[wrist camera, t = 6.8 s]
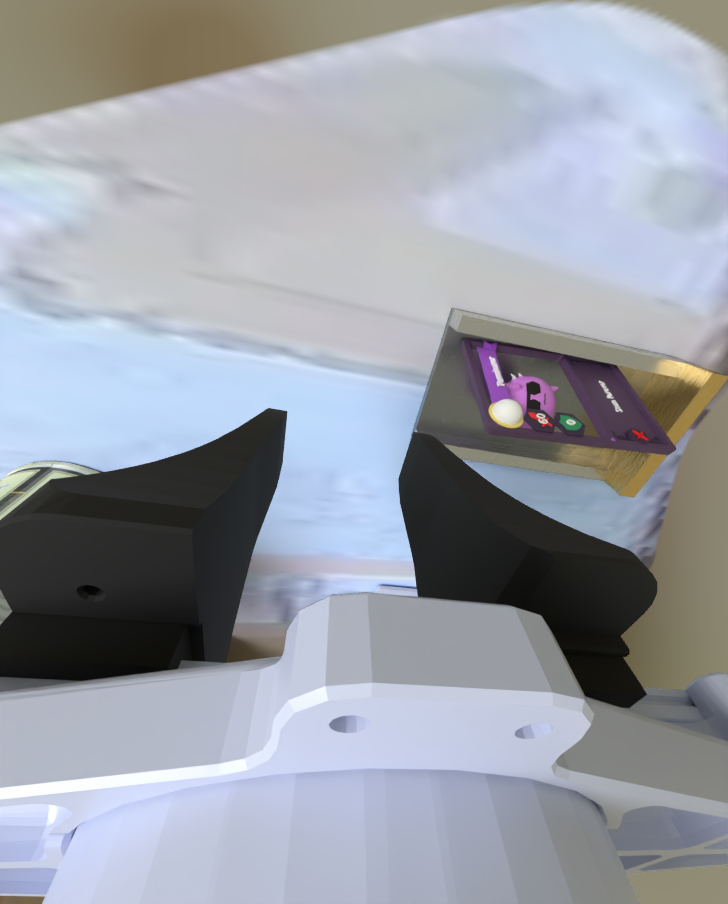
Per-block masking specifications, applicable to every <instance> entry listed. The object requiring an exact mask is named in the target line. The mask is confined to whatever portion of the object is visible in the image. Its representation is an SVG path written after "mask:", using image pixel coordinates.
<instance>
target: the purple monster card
mask: <svg viewBox="0 0 728 904" xmlns="http://www.w3.org/2000/svg"><path fill="white" fill-rule="evenodd" d="M461 348H462V351H463V355H464V358H465V362H466V365H467V369H468V373H469V376H470V380H471V383H472V387H473V390H474V394H475V397H476V401H477V404H478V408H479V411H480V415H481V418H482V422H483V425H484V429H485V431H486V432H487V433H488V434H490V435H496V436H505V437H513V438H522V439H531V440H539V441H548V442H557V443H565V444H574V445H583V446H591V447H600V448H609V449H617V450H626V451H635V452H643V453H652V454H661V455H669V454H671V453H672V452H673V451H675V450H676V447H675V446H674V444H673V443H672V441H671V440H670V439H669V437H668V436H667V434H666V433H665V432H664V430H663V429H662V428H661V426H660V425H659V423H658V422H657V421H656V419H655V418H654V416H653V415H652V414H651V412H650V411H649V410H648V408H647V407H646V405H645V404H644V403H643V401H642V400H641V399H640V397H639V396H638V394H637V393H636V392H635V390H634V389H633V387H632V386H631V385H630V383H629V382H628V381H627V379H626V378H625V376H624V375H623V374H622V372H621V371H620V370H619V368H618V367H617V365H614V364H609V363H604V362H599V361H595V360H590V359H585V358H580V357H576V356H571V355H566V354H561V353H557V352H552V351H547V350H542V349H537V348H531V347H524V346H517V345H511V344H504V343H497V342H490V341H485V340H477V339H470V338H464V339H463V342H462V344H461ZM472 349H476V350H478V353H479V356H480V360H481V364H482V368H483V372H484V376H485V379H486V383H487V386H488V389H489V393H490V398H491V405H490V406H489V402H488V399H487V396H486V393H485V390H484V387H483V383H482V380H481V377H480V374H479V371H478V367H477V364H476V361H475V358H474V355H473V352H472ZM496 352H497V353H504V354H511V355H518V356H525V357H531V358H538V359H545V360H552V361H557V362H558V363H559V365H560V367H561V368H562V370H563V372H564V374H565V376H566V377H567V379H568V381H569V383H570V384H571V386H572V388H573V390H574V392H575V393H576V395H577V397H578V399H579V401H580V402H581V404H582V406H583V408H584V410H585V411H586V413H587V415H588V417H589V419H590V420H591V422H592V424H593V426H594V428H595V429H596V431H597V433H598V435H599V436H600V437H595V436H587V435H584V431H585V426H586V425H584V424H583V423H582V422H581V421H580V420H579V419H577V418H576V417H575V416H574V415H573V414H569V413H561V412H556V413H555V417H554V419H553V418H552V417H553V414H554V411H555V406H556V401H555V396H554V393H553V392H554V391H556V390H557V389H558V387H556V386H549V385H548V384H547V383H546V382H545V381H544V380H542V379H540V378H538V377H534V376H523V375H521V374H519V373H518V374H519V377H518V378H517V377H515V375H513V374H511V376H512V380H511V381H510V382H508V383H505V382H504V379H503V376H502V373H501V369H500V366H499V362H498V359H497V356H496ZM555 427H558V428H559V429H560V430H561V431H562V432H563V433H562V432H554V429H555Z"/></svg>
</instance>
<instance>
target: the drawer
mask: <svg viewBox="0 0 728 904" xmlns="http://www.w3.org/2000/svg"><path fill="white" fill-rule="evenodd" d="M464 338H470V339H477V340H485V341H490V342H497V343H504V344H511V345H517V346H524V347H531V348H537V349H542V350H547V351H552V352H557V353H561V354H566V355H571V356H576V357H580V358H585V359H590V360H595V361H599V362H604V363H609V364H614V365H617V367H618V368H619V370H620V371H621V372H622V374H623V375H624V376H625V378H626V379H627V381H628V382H629V383H630V385H631V386H632V387H633V389H634V390H635V392H636V393H637V394H638V396H639V397H640V399H641V400H642V401H643V403H644V404H645V405H646V407H647V408H648V410H649V411H650V412H651V414H652V415H653V416H654V418H655V419H656V421H657V422H658V423H659V425H660V426H661V428H662V429H663V430H664V432H665V433H666V434H667V436H668V437H669V439H670V440H671V441H672V443H673V444H674V446H675V445H676V444H677V442H678V441H679V440H680V438H681V437H682V436H683V435H684V433H685V432H686V431H687V430H688V428H689V427H690V426H691V425H692V423H693V422H694V421H695V419H696V418H697V417H698V416H699V414H700V413H701V412H702V411H703V409H704V408H705V407H706V406H707V404H708V403H709V402H710V400H711V399H712V398H713V397H714V395H715V394H716V393H717V392H718V390H719V389H720V388H721V387H722V385H723V384H724V383H725V381H726V380H727V379H728V376H726V375H723V374H720V373H717V372H715V371H712V370H709V369H706V368H704V367H701V366H698V365H695V364H693V363H690V362H687V361H684V360H682V359H679V358H676V357H673V356H669V355H664V354H659V353H655V352H650V351H646V350H641V349H637V348H632V347H628V346H623V345H619V344H614V343H609V342H605V341H600V340H596V339H591V338H587V337H582V336H578V335H573V334H568V333H564V332H559V331H555V330H550V329H546V328H541V327H537V326H532V325H528V324H523V323H518V322H514V321H509V320H505V319H500V318H496V317H491V316H487V315H482V314H477V313H473V312H468V311H464V310H459V309H455V308H451V312H450V315H449V318H448V321H447V324H446V327H445V331H444V334H443V337H442V340H441V343H440V347H439V350H438V353H437V356H436V359H435V362H434V366H433V369H432V372H431V375H430V378H429V381H428V385H427V388H426V391H425V394H424V397H423V400H422V404H421V407H420V410H419V413H418V416H417V419H416V423H415V426H414V429H413V432H418V433H424V434H430V435H432V436H433V437H435V438H436V439H437V440H439V441H440V442H441V443H442V444H443V445H445V446H446V447H447V448H448V449H449V450H450V451H452V452H453V453H454V454H455V455H456V456H457V457H459V458H460V459H466V460H473V461H479V462H486V463H492V464H499V465H505V466H512V467H518V468H525V469H531V470H537V471H544V472H550V473H557V474H563V475H570V476H576V477H583V478H589V479H596V480H602V481H605V482H606V483H607V484H609V485H610V486H611V487H612V488H613V489H614V490H615V491H616V492H617V493H618V494H619V495H621V496H628V497H635V495H636V494H637V493H638V492H639V490H640V489H641V488H642V487H643V485H644V484H645V483H646V482H647V480H648V479H649V478H650V476H651V475H652V474H653V473H654V471H655V470H656V469H657V468H658V466H659V465H660V464H661V463H662V461H663V460H664V459H665V457H666V456H667V455H661V454H652V453H643V452H635V451H626V450H617V449H609V448H600V447H591V446H583V445H574V444H565V443H557V442H548V441H539V440H531V439H522V438H513V437H505V436H496V435H490V434H488V433H487V432H486V431H485V429H484V425H483V422H482V418H481V415H480V411H479V408H478V404H477V401H476V397H475V394H474V390H473V387H472V383H471V380H470V376H469V373H468V369H467V365H466V362H465V358H464V355H463V351H462V348H461V344H462V342H463V339H464ZM472 352H473V355H474V358H475V361H476V364H477V367H478V371H479V374H480V377H481V380H482V383H483V387H484V390H485V393H486V396H487V399H488V402H489V406H490V405H491V398H490V393H489V389H488V386H487V383H486V379H485V376H484V372H483V368H482V364H481V360H480V356H479V353H478V350H476V349H472ZM496 356H497V359H498V362H499V366H500V369H501V373H502V376H503V379H504V382H505V383H508V382H510V381H511V380H512V376H511V374H513V375H515V377H517V378H518V377H519V374H521V375H523V376H534V377H538V378H540V379H542V380H544V381H545V382H546V383H547V384H548V385H549V386H556V387H558V389H557V390H556V391H554V392H553V393H554V396H555V401H556V406H555V411H554V414H553V417H552V418H553V419H554V417H555V413H556V412H561V413H569V414H573V415H574V416H575V417H576V418H577V419H579V420H580V421H581V422H582V423H583V424H584V425H586V426H585V431H584V435H587V436H595V437H600V436H599V435H598V433H597V431H596V429H595V428H594V426H593V424H592V422H591V420H590V419H589V417H588V415H587V413H586V411H585V410H584V408H583V406H582V404H581V402H580V401H579V399H578V397H577V395H576V393H575V392H574V390H573V388H572V386H571V384H570V383H569V381H568V379H567V377H566V376H565V374H564V372H563V370H562V368H561V367H560V365H559V363H558V362H557V361H552V360H545V359H538V358H531V357H525V356H518V355H511V354H504V353H497V352H496ZM518 373H519V374H518ZM413 432H412V435H413ZM554 432H562V431H561V430H560V429H559V428H558V427H555V429H554ZM562 433H563V432H562ZM412 435H411V436H412Z"/></svg>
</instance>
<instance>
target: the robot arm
mask: <svg viewBox="0 0 728 904" xmlns="http://www.w3.org/2000/svg"><path fill="white" fill-rule="evenodd" d="M286 420H287V411H283V410H277V409H271V408H268V409H266V410H265V411H263V412H262V413H260V414H259V415H257V416H256V417H254V418H253V419H251V420H250V421H248V422H246V423H245V424H243V425H242V426H240V427H238V428H237V429H235V430H233V431H231V432H229V433H227V434H225V435H224V436H222V437H220V438H218V439H216V440H214V441H212V442H210V443H207V444H205V445H203V446H200V447H198V448H195V449H193V450H190V451H187V452H185V453H181V454H178V455H175V456H171V457H168V458H165V459H162V460H158V461H155V462H151V463H147V464H143V465H138V466H134V467H129V468H124V469H119V470H114V471H108V472H102V473H95V474H88V475H80V476H73V477H66V478H57V479H51V480H49V481H48V482H47V483H45V484H44V485H43V486H42V487H40V488H39V489H38V490H37V491H35V492H34V493H33V494H32V495H30V496H29V497H28V498H27V499H26V500H24V501H23V502H22V503H21V504H19V505H18V506H17V507H16V508H14V509H13V510H12V511H11V512H10V513H8V514H7V515H6V516H5V517H3V518H2V519H1V520H0V590H1V592H2V594H3V596H4V598H5V599H6V601H7V603H8V605H9V607H10V608H11V610H12V612H11V613H10V615H9V616H8V617H7V618H6V619H5V620H4V621H3V622H2V623H1V625H0V896H42V897H45V898H44V900H43V903H42V904H640V903H639V901H638V899H637V897H636V894H635V892H634V890H633V887H632V885H631V883H630V881H629V878H628V876H627V874H631V873H641V872H652V871H663V870H676V869H687V868H700V867H715V866H728V673H710V674H707V675H703V676H701V677H699V678H697V679H696V680H694V681H693V682H692V683H690V684H689V685H688V686H687V687H686V690H673V689H657V688H643V687H642V686H641V684H640V683H639V681H638V680H637V678H636V676H635V675H634V674H633V672H632V671H631V669H630V667H629V666H628V664H627V663H626V661H625V660H624V658H623V657H626V656H627V655H629V648H628V647H627V645H626V644H625V642H624V641H623V639H622V638H621V635H622V634H623V633H624V632H625V631H626V630H627V629H628V628H629V627H630V626H631V625H632V624H633V623H634V622H636V621H637V620H638V619H639V618H640V617H641V616H642V615H643V614H644V613H645V612H646V610H647V609H648V608H649V607H650V606H651V605H652V603H653V601H654V599H655V596H656V594H657V581H656V579H655V577H654V576H653V574H652V573H651V572H650V571H649V570H648V569H647V567H646V566H645V565H644V564H643V563H642V562H641V561H640V560H639V559H638V558H637V556H636V555H635V554H634V553H632V552H631V551H630V550H627V549H624V548H622V547H619V546H616V545H614V544H611V543H608V542H606V541H603V540H600V539H598V538H595V537H592V536H590V535H587V534H585V533H582V532H580V531H578V530H575V529H573V528H571V527H569V526H566V525H564V524H562V523H560V522H558V521H556V520H553V519H551V518H549V517H547V516H545V515H543V514H541V513H540V512H538V511H536V510H534V509H532V508H530V507H528V506H527V505H525V504H523V503H521V502H519V501H518V500H516V499H514V498H513V497H511V496H510V495H508V494H507V493H505V492H503V491H502V490H500V489H499V488H497V487H496V486H494V485H493V484H491V483H490V482H489V481H487V480H486V479H485V478H483V477H482V476H481V475H479V474H478V473H477V472H475V471H474V470H473V469H472V468H470V467H469V466H468V465H467V464H466V463H464V462H463V461H462V460H461V459H460V458H459V457H457V456H456V455H455V454H454V453H453V452H452V451H450V450H449V449H448V448H447V447H446V446H445V445H443V444H442V443H441V442H440V441H439V440H437V439H436V438H435V437H433V436H432V435H430V434H424V433H418V432H413V435H412V438H411V441H410V444H409V447H408V451H407V454H406V457H405V460H404V463H403V466H402V470H401V473H400V476H399V494H400V504H401V508H402V513H403V517H404V522H405V526H406V531H407V535H408V539H409V543H410V548H411V552H412V557H413V562H414V568H415V577H416V586H417V589H413V588H402V587H392V586H378V587H376V589H375V591H374V593H371V592H359V593H346V594H333V595H330V596H328V597H326V598H324V599H322V600H320V601H317V602H315V603H313V604H311V605H309V606H307V607H305V608H303V609H302V610H300V611H299V613H298V614H297V616H296V617H295V619H294V620H293V622H292V623H291V625H290V627H289V628H288V630H287V635H286V642H285V648H284V652H283V655H282V656H279V657H271V658H263V659H255V660H247V661H239V662H231V663H225V662H226V657H227V653H228V649H229V644H230V640H231V636H232V632H233V628H234V624H235V620H236V615H237V611H238V607H239V603H240V599H241V595H242V591H243V587H244V583H245V579H246V575H247V572H248V568H249V564H250V560H251V556H252V553H253V549H254V546H255V543H256V540H257V537H258V535H259V532H260V529H261V527H262V524H263V522H264V519H265V516H266V514H267V511H268V509H269V506H270V503H271V501H272V498H273V495H274V493H275V490H276V487H277V484H278V480H279V475H280V471H281V467H282V462H283V452H284V441H285V430H286Z"/></svg>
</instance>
